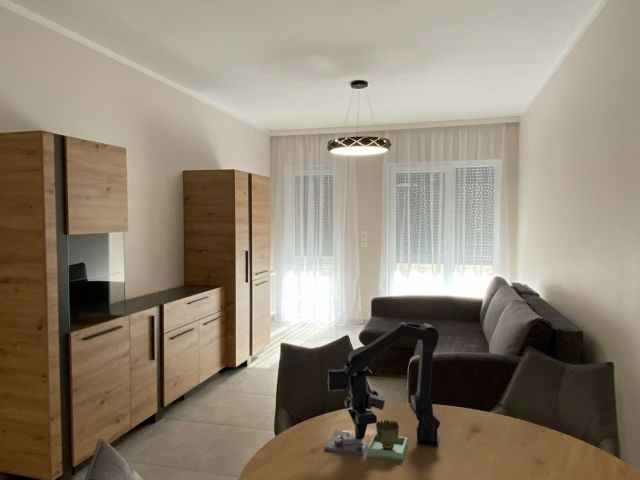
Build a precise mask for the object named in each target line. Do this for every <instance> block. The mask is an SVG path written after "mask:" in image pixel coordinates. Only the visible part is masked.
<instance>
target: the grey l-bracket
mask: <svg viewBox="0 0 640 480" xmlns="http://www.w3.org/2000/svg"><path fill="white" fill-rule="evenodd" d="M350 433H351V431H349V430H348V431H347V430H339V429H335V430H334V432H333V433H332V434H331V437H330V438H329V439H328V440H327V442H326V443H325V445H324V451H327V452H334V453H341V454H342V453H343V454H350V455H356V456H364V454H365V452H366V451H367V447H368V443H366V442H355V443H343V444H335V441H334V436H335V435H337V434H341V435H343V437H350V435H351V434H350Z"/></svg>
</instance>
